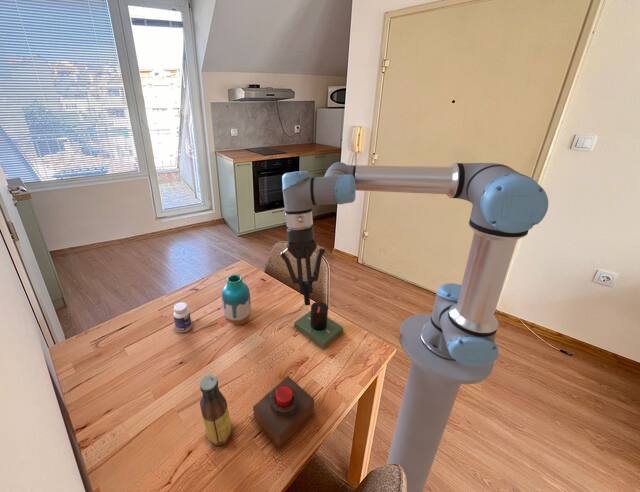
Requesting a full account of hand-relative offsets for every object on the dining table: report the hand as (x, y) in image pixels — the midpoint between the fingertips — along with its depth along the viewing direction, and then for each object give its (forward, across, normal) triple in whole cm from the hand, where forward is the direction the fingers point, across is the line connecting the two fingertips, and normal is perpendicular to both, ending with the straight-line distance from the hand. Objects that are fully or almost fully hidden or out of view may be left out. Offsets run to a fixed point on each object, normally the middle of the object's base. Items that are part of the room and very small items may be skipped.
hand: (307, 303), depth 87 cm
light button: (+19, -10, -15) cm, 26 cm away
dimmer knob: (+18, +5, +16) cm, 25 cm away
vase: (+16, -26, +24) cm, 38 cm away
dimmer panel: (+20, +4, +17) cm, 27 cm away
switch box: (+26, -10, -13) cm, 31 cm away
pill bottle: (+15, -46, +21) cm, 52 cm away
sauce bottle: (+25, -27, -17) cm, 41 cm away
